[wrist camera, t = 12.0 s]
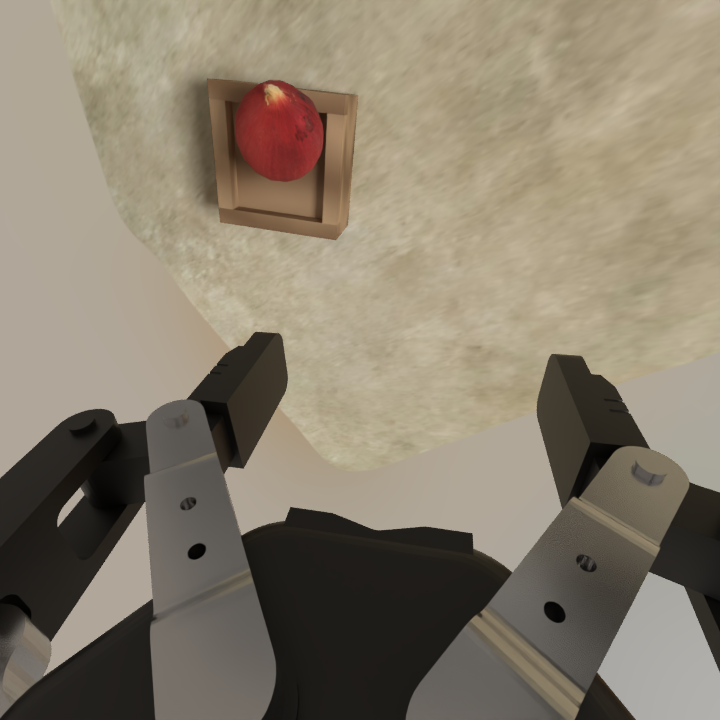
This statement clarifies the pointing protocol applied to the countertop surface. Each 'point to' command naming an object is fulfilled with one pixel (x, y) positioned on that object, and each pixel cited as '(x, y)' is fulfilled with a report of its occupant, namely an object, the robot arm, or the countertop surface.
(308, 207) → the wooden box
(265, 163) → the onion
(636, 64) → the countertop surface
